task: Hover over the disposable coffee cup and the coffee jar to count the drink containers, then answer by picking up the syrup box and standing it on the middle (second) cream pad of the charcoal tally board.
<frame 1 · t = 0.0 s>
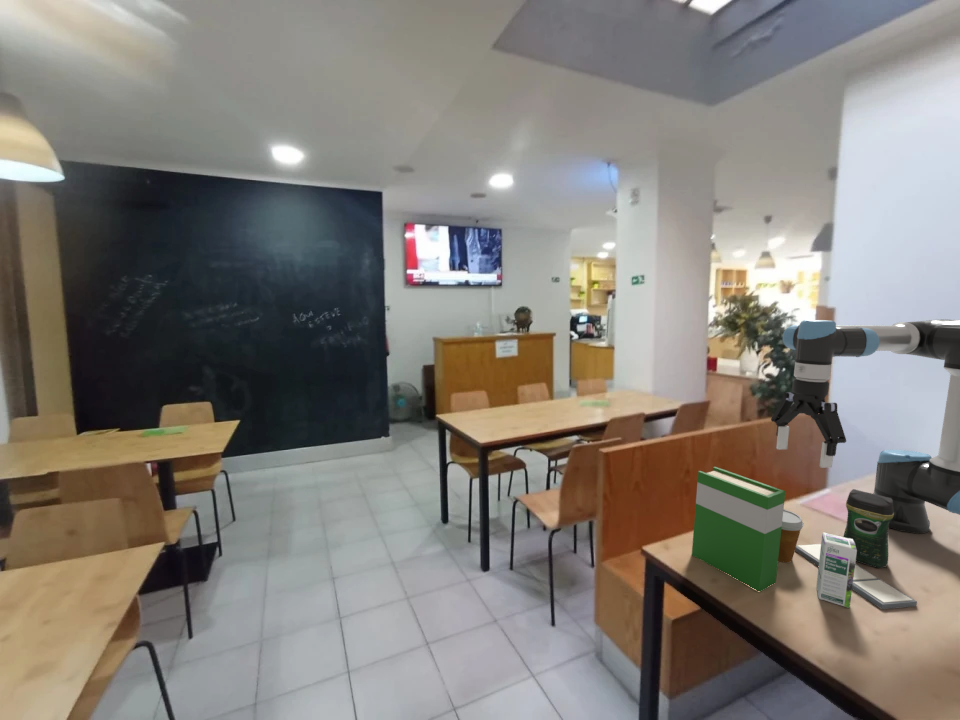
hand: (802, 457, 115), 28 cm above the table, tool pointing down, fingers open, 13 cm apart
disposable coffee cup: (777, 556, 118), on the table
hardback book: (731, 568, 112), on the table
tally board: (848, 574, 110), on the table
syrup box: (832, 597, 101), on the table
coffee jar: (862, 559, 117), on the table
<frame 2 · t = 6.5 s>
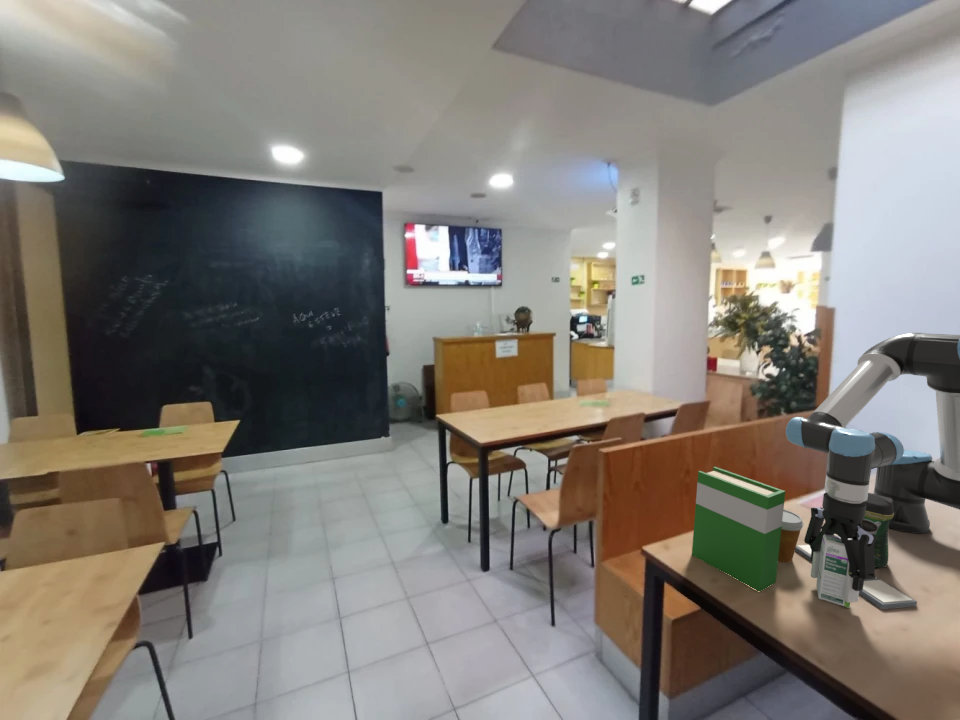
hand: (833, 588, 101), 2 cm above the table, tool pointing down, fingers closed on syrup box, 8 cm apart
syrup box: (831, 597, 102), on the table, touching gripper
everything else where it was.
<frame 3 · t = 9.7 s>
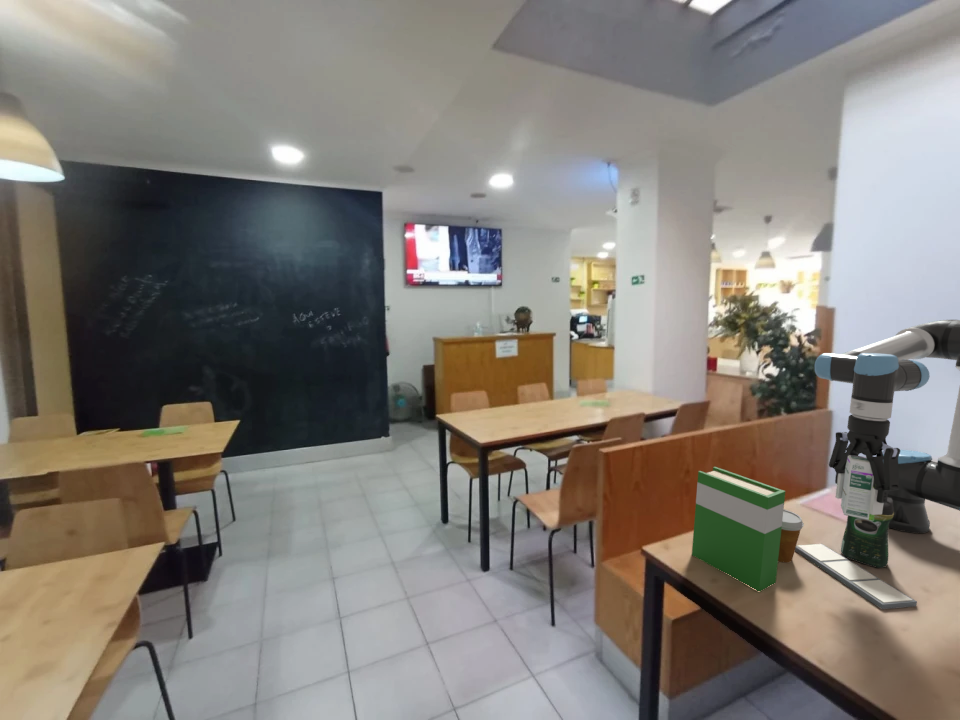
hand: (857, 505, 107), 19 cm above the table, tool pointing down, fingers closed on syrup box, 8 cm apart
syrup box: (856, 514, 108), point 16 cm above the table, touching gripper
everything else where it was.
when the fingers open (5 cm above the table, at t = 12.7 s): syrup box drops 1 cm, resting on tally board.
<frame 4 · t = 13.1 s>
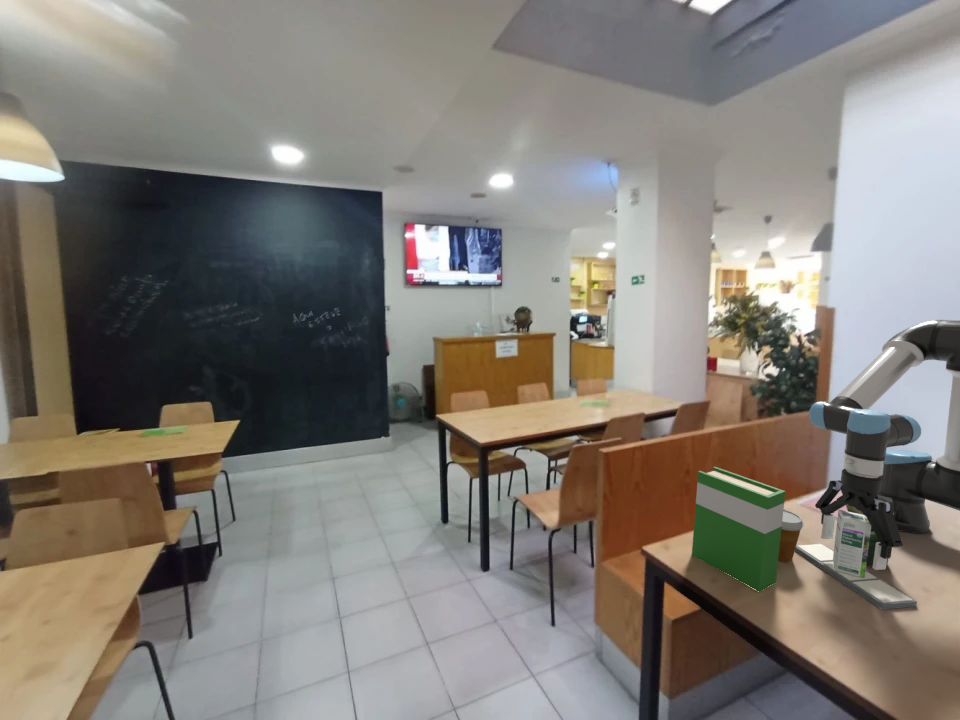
hand: (851, 552, 109), 6 cm above the table, tool pointing down, fingers open, 13 cm apart
syrup box: (847, 569, 110), point 1 cm above the table, touching tally board
everything else where it was.
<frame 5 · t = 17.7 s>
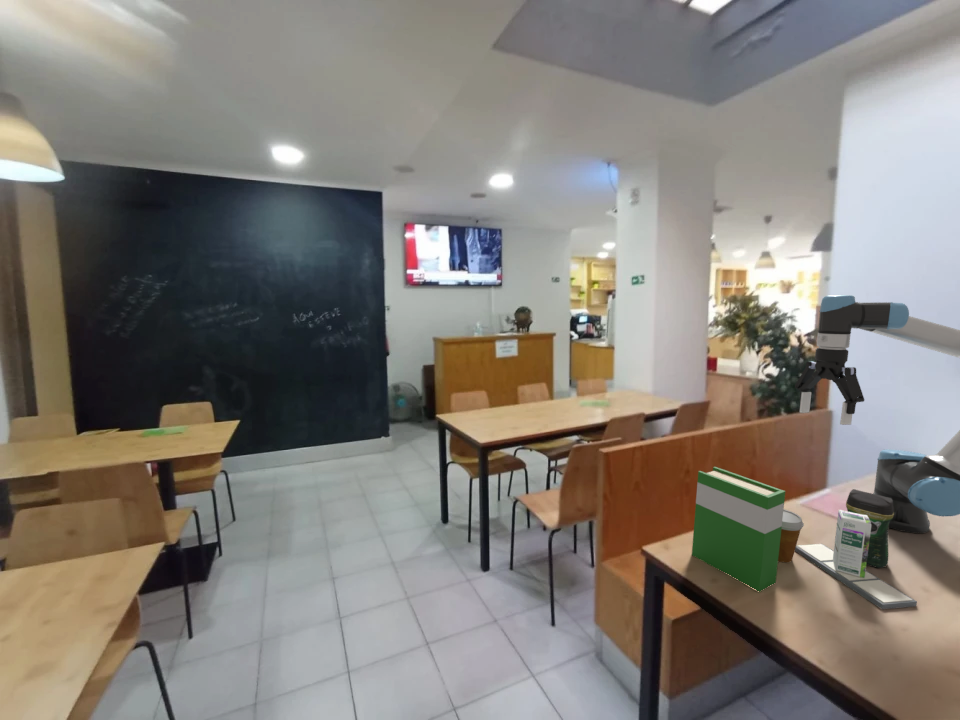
hand: (823, 418, 129), 35 cm above the table, tool pointing down, fingers open, 13 cm apart
nothing on the table moved.
at the end: syrup box inside the target area on the tally board (0.4 cm from its centre), point 1.2 cm above the tally board's base; syrup box tilted 0°; the gripper is holding nothing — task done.
